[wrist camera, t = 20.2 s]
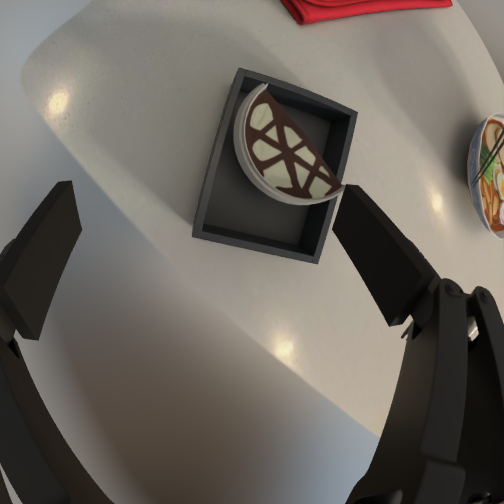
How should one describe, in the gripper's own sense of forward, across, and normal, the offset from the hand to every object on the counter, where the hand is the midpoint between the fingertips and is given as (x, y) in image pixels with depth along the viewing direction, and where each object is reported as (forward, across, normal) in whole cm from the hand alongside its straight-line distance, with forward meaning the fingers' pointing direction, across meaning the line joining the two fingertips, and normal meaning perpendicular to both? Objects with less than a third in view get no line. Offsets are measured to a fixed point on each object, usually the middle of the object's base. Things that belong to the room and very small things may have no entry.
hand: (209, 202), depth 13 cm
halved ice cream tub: (+19, +6, -5) cm, 21 cm away
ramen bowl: (+21, +49, -1) cm, 54 cm away
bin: (+19, +8, -6) cm, 21 cm away
